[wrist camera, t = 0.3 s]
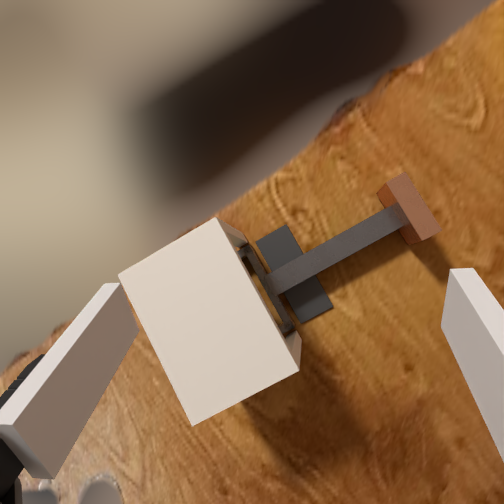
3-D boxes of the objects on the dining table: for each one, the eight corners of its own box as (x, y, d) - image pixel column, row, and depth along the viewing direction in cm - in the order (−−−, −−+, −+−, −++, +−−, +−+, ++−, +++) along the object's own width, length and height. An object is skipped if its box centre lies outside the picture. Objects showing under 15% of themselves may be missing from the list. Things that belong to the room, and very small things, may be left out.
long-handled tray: (433, 250, 47) (453, 247, 41) (217, 366, 50) (205, 379, 44) (383, 170, 48) (395, 155, 42) (177, 288, 52) (159, 290, 46)
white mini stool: (340, 319, 48) (356, 341, 33) (227, 379, 50) (192, 426, 35) (279, 212, 50) (267, 186, 35) (172, 273, 52) (117, 274, 37)
